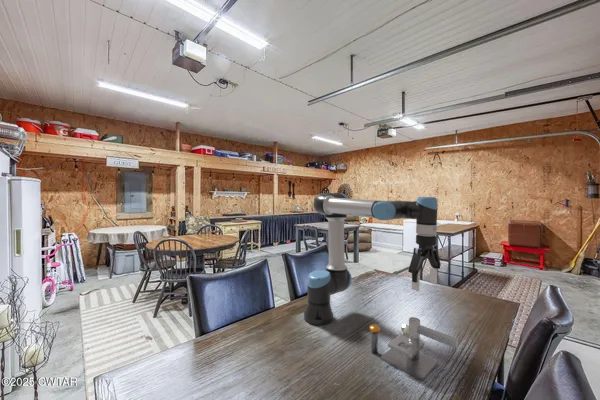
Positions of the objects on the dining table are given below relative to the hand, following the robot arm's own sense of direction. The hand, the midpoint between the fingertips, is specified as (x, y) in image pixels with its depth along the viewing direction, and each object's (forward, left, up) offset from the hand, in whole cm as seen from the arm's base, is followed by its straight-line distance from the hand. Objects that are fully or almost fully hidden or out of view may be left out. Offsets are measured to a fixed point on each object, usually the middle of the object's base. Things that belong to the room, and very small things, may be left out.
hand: (424, 286), depth 106 cm
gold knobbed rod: (-13, -16, -27) cm, 34 cm away
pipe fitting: (-10, +6, -27) cm, 29 cm away
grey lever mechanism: (+3, -11, -27) cm, 29 cm away
